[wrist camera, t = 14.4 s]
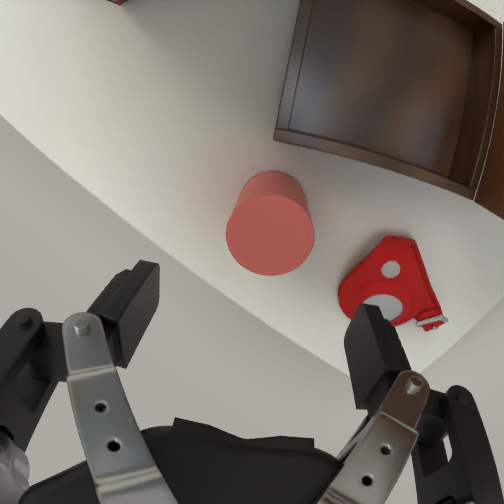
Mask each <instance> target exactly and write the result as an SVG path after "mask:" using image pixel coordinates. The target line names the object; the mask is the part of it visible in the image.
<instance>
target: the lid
mask: <svg viewBox="0 0 504 504" xmlns="http://www.w3.org/2000/svg"><path fill="white" fill-rule="evenodd" d="M474 202H475V203H477V204H479V205H481V206H482V207H484V208H486V209H487V210H489V211H490V212H492V213H494V214H495V215H497V216H498V217H500V218H502V219H503V220H504V22H503V58H502V71H501V82H500V90H499V98H498V105H497V111H496V117H495V122H494V128H493V133H492V137H491V142H490V146H489V151H488V155H487V159H486V163H485V166H484V170H483V174H482V177H481V181H480V184H479V187H478V191H477V194H476V197H475V200H474Z"/></svg>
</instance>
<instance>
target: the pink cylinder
mask: <svg viewBox="0 0 504 504" xmlns="http://www.w3.org/2000/svg"><path fill="white" fill-rule="evenodd" d="M226 241H227V245H228V248H229V250H230V252H231V254H232V256H233V257H234V258H235V260H236V261H237V262H238V263H239V264H240V265H242V266H243V267H244V268H246V269H248V270H249V271H251V272H254V273H257V274H261V275H269V276H273V275H281V274H285V273H288V272H290V271H292V270H294V269H295V268H297V267H298V266H300V265H301V264H302V263H303V262H304V261H305V260H306V258H307V257H308V256H309V254H310V252H311V250H312V247H313V243H314V228H313V224H312V220H311V216H310V213H309V209H308V206H307V202H306V199H305V195H304V192H303V190H302V188H301V186H300V185H299V183H298V182H297V181H296V180H295V179H294V178H293V177H291V176H290V175H288V174H285V173H283V172H279V171H266V172H262V173H259V174H257V175H255V176H254V177H252V178H251V179H250V180H249V181H248V182H247V183H246V185H245V186H244V188H243V190H242V192H241V194H240V196H239V199H238V201H237V203H236V205H235V207H234V209H233V212H232V214H231V216H230V218H229V221H228V223H227V228H226Z"/></svg>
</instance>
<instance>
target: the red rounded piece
mask: <svg viewBox="0 0 504 504" xmlns="http://www.w3.org/2000/svg"><path fill="white" fill-rule="evenodd" d="M338 299H339V305H340V307H341V309H342V311H343V313H344V314H345V315H346V316H347V317H349V318H350V319H351V320H352V318H353V316H354V314H355V311H356V309H357V307H358V305H359V304H360V303H365V304H372V305H378V306H379V307H380V310H381V312H382V315H383V317H384V319H388V321H389V322H390V323H391V324H392V325H393V326H398V325H401V324H403V323H406V322H408V321H409V320H411V319H412V318H415V319H416V320H417V322H416V326H419V327H422V328H423V329H424V330H425V331H429V330H432V329H438V326H440V325H443V324H444V323H446V322H448V319H447V318H446V317H444V316H443V314H442V310H441V307H440V305H439V302H438V300H437V298H436V296H435V294H434V291H433V289H432V287H431V285H430V282H429V279H428V276H427V273H426V270H425V267H424V264H423V261H422V258H421V255H420V252H419V249H418V247H417V244H416V242H415V240H414V239H409V238H402V237H396V236H386V237H385V238H384V239H383V240H382V241H381V242H380V243H379V245H378V246H377V247H376V248H375V249H374V250H373V251H372V252H371V253H370V254H369V255H368V256H367V257H366V258H365V259H363V260H362V261H361V262H360V263H358V264H357V265H356V266H355V267H354V268H352V270H351V271H350V272H349V273H348V274H347V275H346V276H345V278H344V279H343V281H342V282H341V284H340V286H339V290H338Z"/></svg>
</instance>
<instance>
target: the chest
mask: <svg viewBox="0 0 504 504" xmlns="http://www.w3.org/2000/svg"><path fill="white" fill-rule="evenodd" d="M501 57H502V24H501V23H499V22H498V21H497V20H495V19H494V18H492V17H491V16H490V15H488V14H487V13H485V12H484V11H482V10H481V9H479V8H478V7H476V6H475V5H473V4H471V3H470V2H468V1H467V0H300V5H299V10H298V15H297V20H296V26H295V31H294V36H293V41H292V46H291V51H290V56H289V61H288V66H287V71H286V76H285V81H284V86H283V92H282V97H281V102H280V107H279V112H278V117H277V122H276V128H275V132H274V137H273V140H274V141H279V142H284V143H289V144H293V145H298V146H302V147H307V148H311V149H315V150H320V151H324V152H328V153H332V154H336V155H340V156H343V157H347V158H351V159H354V160H358V161H361V162H365V163H368V164H372V165H375V166H378V167H382V168H385V169H388V170H391V171H395V172H398V173H401V174H404V175H407V176H410V177H413V178H415V179H418V180H421V181H424V182H427V183H430V184H432V185H435V186H438V187H440V188H443V189H446V190H448V191H451V192H453V193H456V194H458V195H461V196H463V197H466V198H468V199H471V200H473V199H474V196H475V193H476V190H477V187H478V184H479V180H480V177H481V173H482V170H483V166H484V162H485V158H486V154H487V150H488V146H489V141H490V137H491V132H492V127H493V122H494V116H495V110H496V104H497V97H498V90H499V81H500V71H501Z"/></svg>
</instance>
